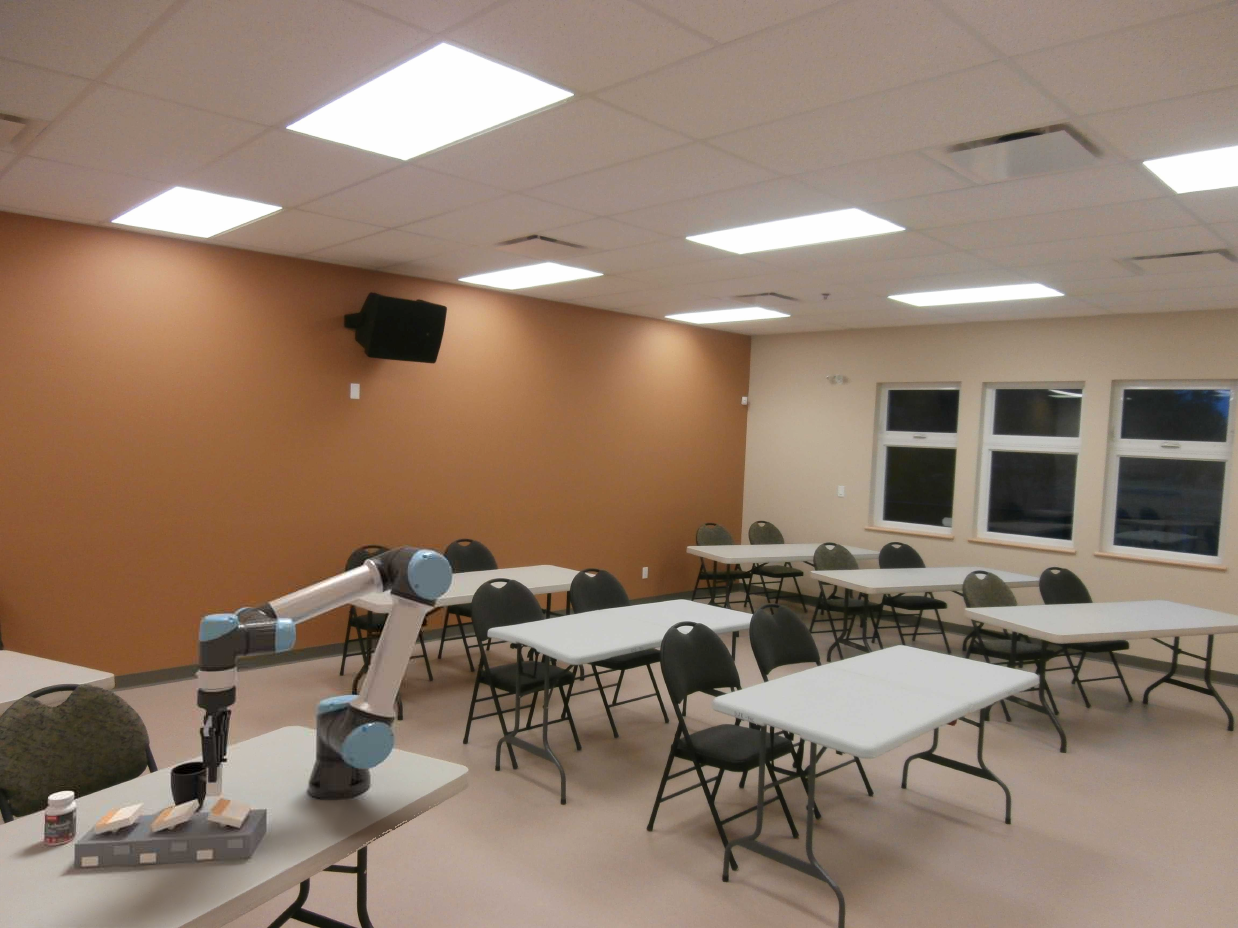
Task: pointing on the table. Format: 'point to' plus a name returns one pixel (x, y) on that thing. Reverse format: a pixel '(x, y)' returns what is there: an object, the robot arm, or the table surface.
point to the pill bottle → (60, 818)
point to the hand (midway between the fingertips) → (213, 794)
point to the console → (171, 842)
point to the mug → (189, 783)
